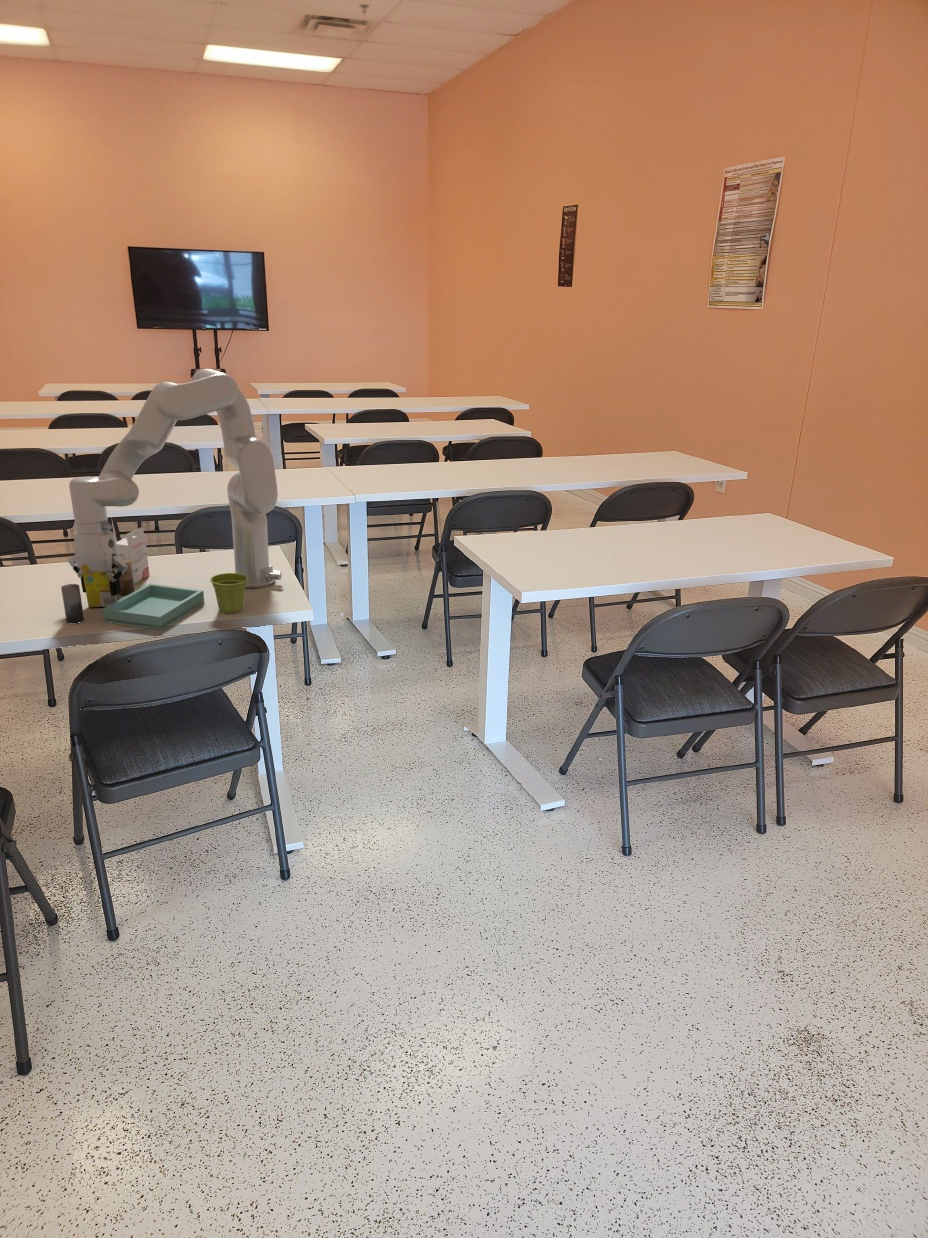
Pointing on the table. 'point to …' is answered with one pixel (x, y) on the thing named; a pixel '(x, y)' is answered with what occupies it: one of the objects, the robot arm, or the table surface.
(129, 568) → the walnut cylinder
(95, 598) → the crayon box
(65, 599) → the graphite cylinder
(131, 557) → the ink cartridge box
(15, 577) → the table surface
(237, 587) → the plant pot
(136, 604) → the teal tray
